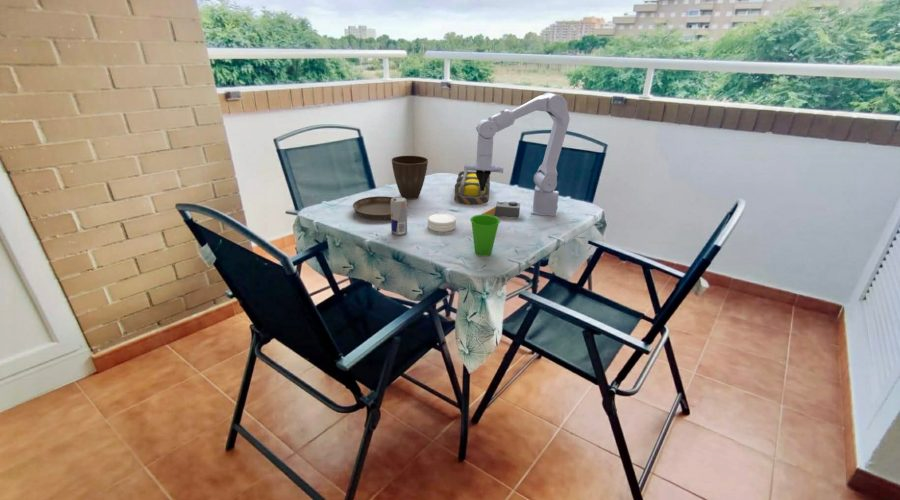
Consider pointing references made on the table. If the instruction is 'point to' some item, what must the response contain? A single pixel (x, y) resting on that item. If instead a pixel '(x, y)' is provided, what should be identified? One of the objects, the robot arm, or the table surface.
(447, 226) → the white round disc
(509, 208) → the camera body
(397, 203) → the energy drink
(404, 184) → the plant pot
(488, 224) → the cup
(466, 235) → the table surface
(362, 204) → the plant saucer
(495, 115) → the robot arm
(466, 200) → the cage light
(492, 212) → the wooden matchstick
